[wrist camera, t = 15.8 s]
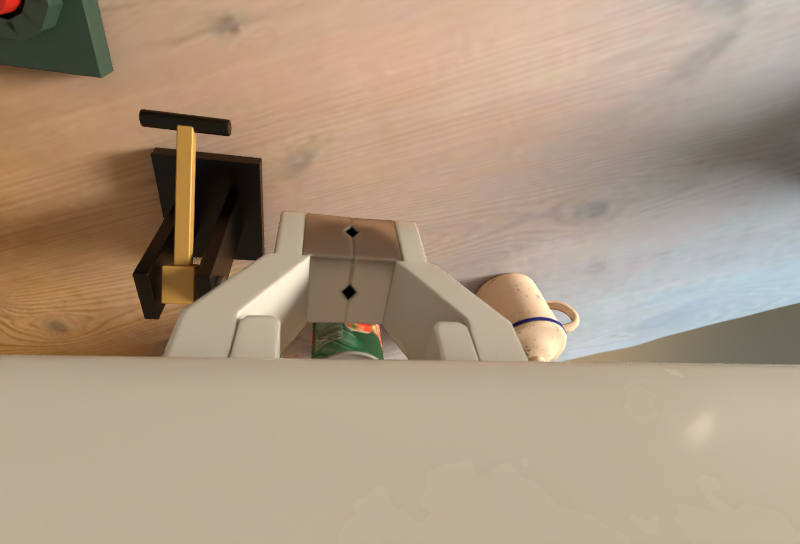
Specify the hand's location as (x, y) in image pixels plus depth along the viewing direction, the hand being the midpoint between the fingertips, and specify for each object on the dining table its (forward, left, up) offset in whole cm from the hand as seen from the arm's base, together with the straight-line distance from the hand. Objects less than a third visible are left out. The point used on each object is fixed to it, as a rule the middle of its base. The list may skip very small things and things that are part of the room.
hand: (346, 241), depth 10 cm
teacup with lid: (+27, +26, -30) cm, 48 cm away
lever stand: (+17, -10, -30) cm, 36 cm away
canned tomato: (+30, +4, -30) cm, 43 cm away
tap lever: (+13, -10, -22) cm, 28 cm away
